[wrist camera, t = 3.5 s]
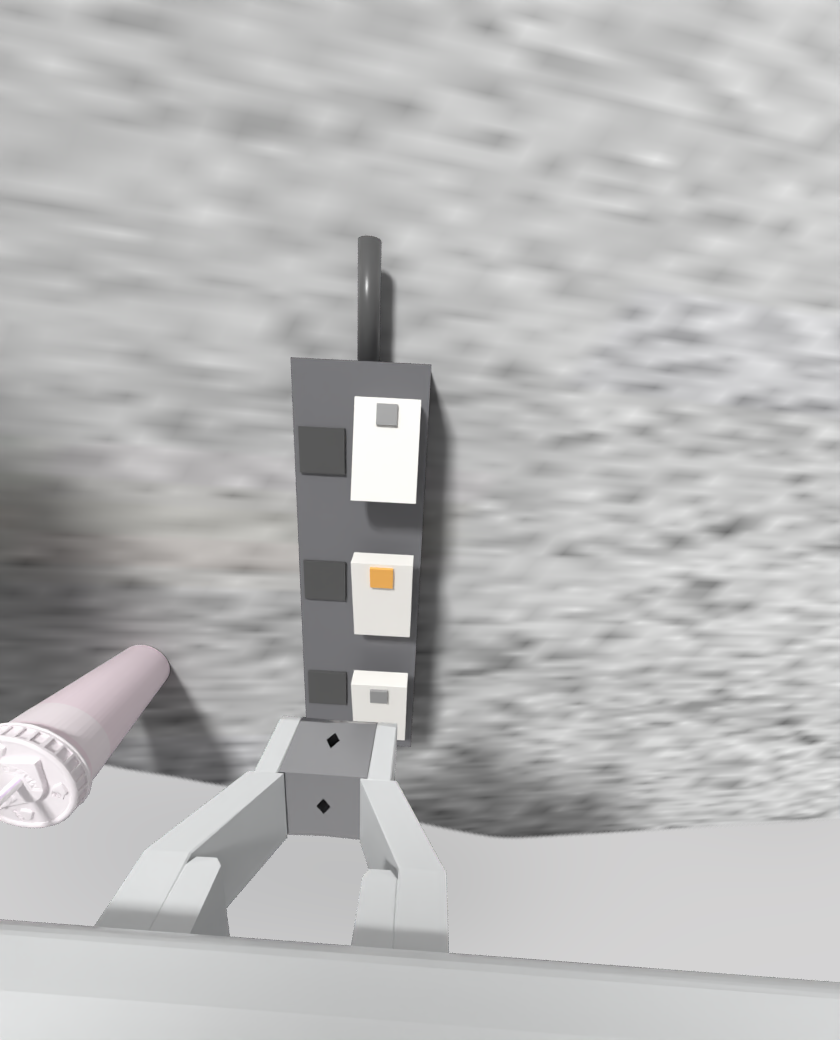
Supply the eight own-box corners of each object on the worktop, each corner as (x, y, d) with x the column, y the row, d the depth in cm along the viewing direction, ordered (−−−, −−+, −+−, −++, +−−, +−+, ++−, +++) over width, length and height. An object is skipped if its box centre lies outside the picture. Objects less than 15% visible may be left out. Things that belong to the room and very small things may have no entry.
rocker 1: (358, 401, 20) (354, 395, 18) (421, 404, 19) (421, 398, 18) (354, 499, 20) (349, 500, 19) (416, 503, 20) (415, 503, 19)
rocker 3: (353, 670, 23) (350, 686, 22) (408, 673, 23) (406, 690, 22) (356, 722, 25) (353, 740, 24) (405, 725, 25) (404, 743, 24)
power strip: (310, 248, 21) (282, 212, 17) (437, 255, 21) (439, 219, 17) (322, 697, 30) (306, 743, 26) (413, 702, 30) (410, 749, 26)
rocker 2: (354, 552, 21) (350, 564, 20) (413, 555, 21) (412, 568, 20) (357, 621, 23) (353, 636, 22) (410, 624, 23) (409, 639, 22)
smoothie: (204, 666, 29) (14, 888, 16) (156, 714, 31) (-55, 954, 17) (133, 612, 28) (-137, 802, 15) (87, 664, 29) (-199, 881, 16)
